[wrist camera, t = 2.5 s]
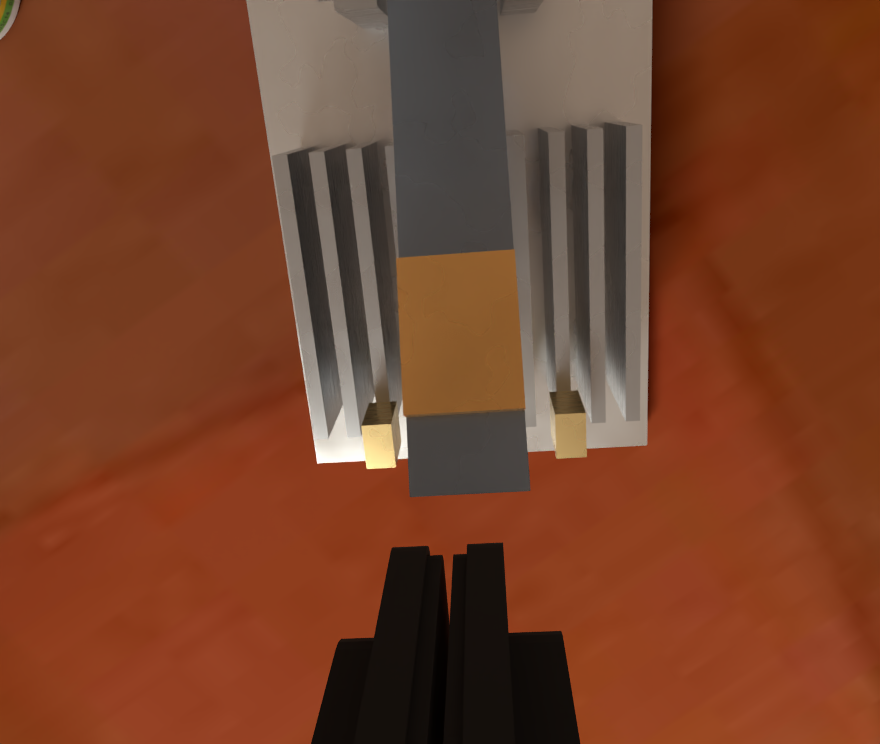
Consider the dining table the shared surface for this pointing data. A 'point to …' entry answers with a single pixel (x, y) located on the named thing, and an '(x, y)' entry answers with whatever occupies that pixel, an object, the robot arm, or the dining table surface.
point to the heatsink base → (532, 209)
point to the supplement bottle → (7, 14)
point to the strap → (455, 251)
